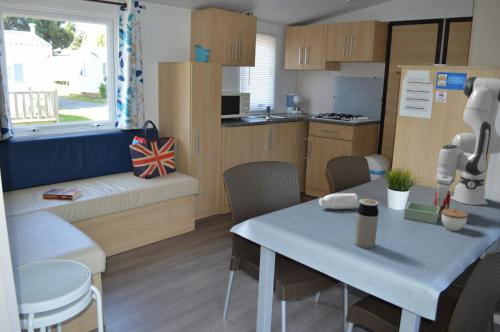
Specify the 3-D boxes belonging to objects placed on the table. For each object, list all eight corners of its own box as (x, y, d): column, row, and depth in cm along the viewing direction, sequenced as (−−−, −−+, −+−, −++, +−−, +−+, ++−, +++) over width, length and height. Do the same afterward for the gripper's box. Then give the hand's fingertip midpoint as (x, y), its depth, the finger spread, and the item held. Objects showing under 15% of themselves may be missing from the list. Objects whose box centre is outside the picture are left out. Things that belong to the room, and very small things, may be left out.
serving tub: (408, 210, 215) (409, 201, 214) (438, 216, 208) (440, 206, 207) (404, 218, 203) (405, 208, 202) (436, 224, 196) (437, 214, 195)
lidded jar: (434, 225, 194) (437, 206, 192) (452, 223, 198) (454, 204, 196) (452, 233, 184) (455, 213, 182) (470, 231, 188) (474, 211, 186)
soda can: (449, 216, 209) (452, 193, 207) (434, 214, 211) (437, 191, 208) (446, 211, 216) (449, 189, 214) (431, 210, 217) (434, 188, 215)
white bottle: (316, 207, 216) (317, 192, 214) (350, 206, 219) (351, 191, 218) (322, 211, 208) (323, 196, 206) (357, 210, 212) (358, 195, 210)
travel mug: (378, 244, 168) (382, 202, 164) (369, 250, 162) (373, 206, 159) (360, 239, 173) (364, 197, 170) (350, 244, 168) (355, 201, 164)
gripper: (440, 172, 220) (436, 197, 222) (436, 180, 202) (433, 207, 205) (453, 174, 217) (449, 200, 220) (451, 182, 199) (447, 209, 202)
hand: (441, 203), depth 212 cm, fingers closed on soda can, 7 cm apart
